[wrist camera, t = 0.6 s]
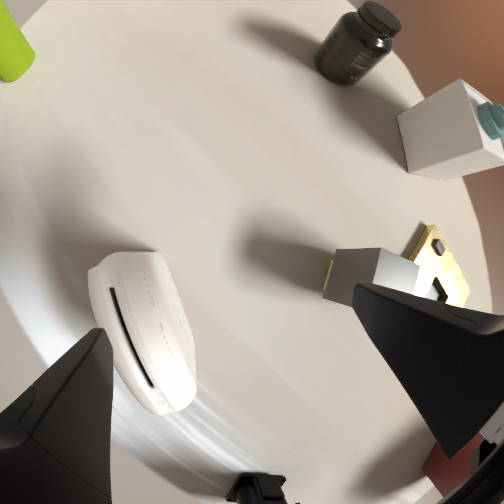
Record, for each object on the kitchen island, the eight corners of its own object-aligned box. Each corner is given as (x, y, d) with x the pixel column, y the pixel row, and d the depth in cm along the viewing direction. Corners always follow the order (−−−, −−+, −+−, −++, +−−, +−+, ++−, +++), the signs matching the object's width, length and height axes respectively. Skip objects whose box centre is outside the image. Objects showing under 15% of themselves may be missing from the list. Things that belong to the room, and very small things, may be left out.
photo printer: (200, 348, 25) (208, 420, 12) (159, 360, 24) (139, 435, 12) (164, 245, 24) (135, 236, 12) (122, 259, 23) (62, 263, 11)
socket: (419, 366, 30) (429, 370, 28) (373, 310, 28) (384, 313, 26) (463, 290, 33) (472, 291, 30) (426, 225, 31) (437, 224, 28)
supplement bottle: (363, 71, 29) (412, 25, 17) (349, 96, 28) (405, 46, 17) (324, 43, 28) (364, -11, 16) (304, 65, 27) (347, 3, 16)
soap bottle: (433, 128, 32) (523, 87, 13) (444, 181, 32) (547, 154, 13) (395, 114, 30) (495, 55, 11) (407, 173, 30) (528, 133, 11)
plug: (351, 305, 28) (406, 321, 19) (314, 295, 27) (364, 311, 18) (362, 263, 28) (420, 265, 19) (326, 249, 27) (381, 247, 18)
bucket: (487, 404, 37) (554, 431, 13) (443, 475, 35) (499, 513, 11) (450, 404, 33) (545, 448, 9) (390, 492, 31) (458, 553, 7)
